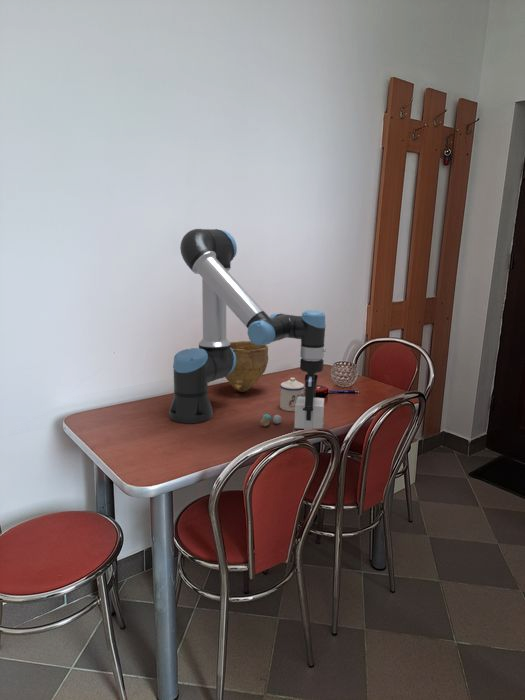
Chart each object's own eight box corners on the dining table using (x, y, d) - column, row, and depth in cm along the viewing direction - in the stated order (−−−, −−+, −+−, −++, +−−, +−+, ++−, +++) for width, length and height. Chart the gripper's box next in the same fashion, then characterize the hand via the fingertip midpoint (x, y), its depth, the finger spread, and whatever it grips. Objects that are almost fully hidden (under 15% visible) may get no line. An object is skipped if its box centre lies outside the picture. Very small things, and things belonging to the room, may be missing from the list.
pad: (292, 433, 166) (292, 432, 166) (295, 422, 176) (295, 421, 176) (323, 435, 164) (323, 434, 164) (324, 424, 174) (324, 423, 174)
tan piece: (208, 395, 203) (208, 346, 199) (230, 382, 221) (230, 337, 217) (255, 402, 195) (256, 352, 191) (274, 388, 214) (276, 342, 209)
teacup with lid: (290, 413, 184) (291, 382, 182) (274, 406, 191) (275, 377, 189) (314, 407, 191) (315, 377, 189) (298, 401, 198) (299, 372, 196)
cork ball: (259, 427, 170) (260, 419, 170) (261, 424, 173) (261, 415, 173) (268, 428, 170) (269, 419, 169) (270, 424, 173) (270, 416, 172)
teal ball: (261, 423, 174) (261, 415, 173) (263, 420, 177) (263, 412, 176) (270, 424, 173) (270, 416, 173) (271, 421, 176) (271, 413, 176)
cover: (294, 428, 166) (295, 404, 164) (297, 418, 175) (297, 396, 173) (321, 430, 165) (323, 406, 163) (323, 420, 173) (324, 398, 171)
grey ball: (272, 424, 173) (272, 416, 173) (273, 421, 176) (273, 413, 175) (280, 425, 173) (281, 416, 172) (281, 422, 176) (282, 413, 175)
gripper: (322, 367, 154) (318, 436, 159) (325, 351, 174) (322, 413, 179) (297, 366, 155) (294, 434, 160) (303, 350, 176) (301, 412, 181)
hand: (309, 423), depth 170 cm, fingers closed on cover, 9 cm apart
